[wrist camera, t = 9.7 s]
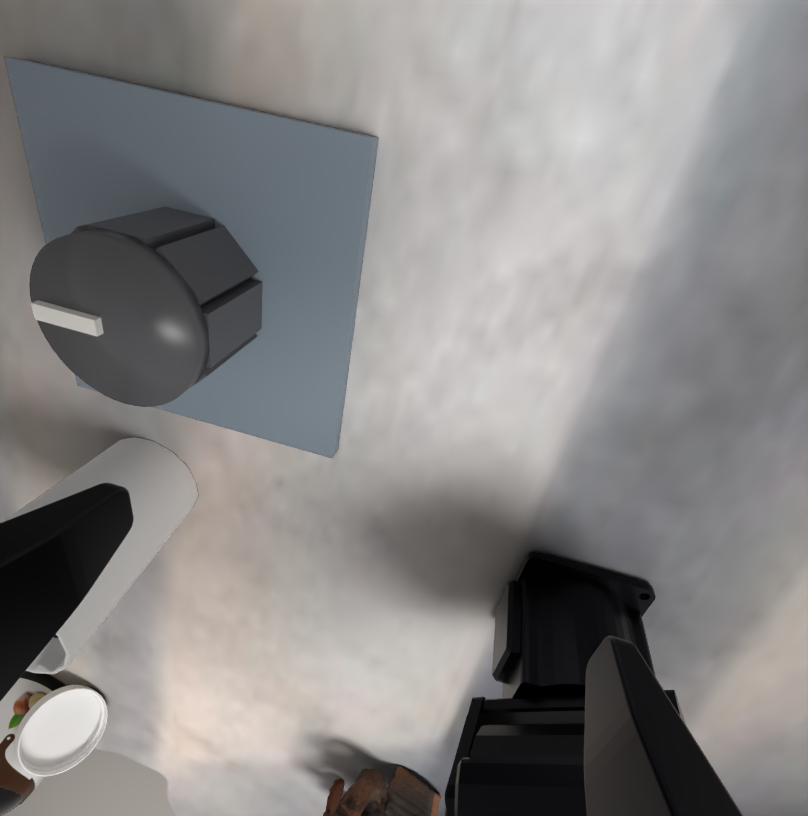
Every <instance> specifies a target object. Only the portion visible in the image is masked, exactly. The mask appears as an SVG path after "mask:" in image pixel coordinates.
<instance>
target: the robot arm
mask: <svg viewBox="0 0 808 816" xmlns="http://www.w3.org/2000/svg"><path fill="white" fill-rule="evenodd" d="M133 520H134V516H133V511H132V505H131V500H130V494H129V491H128V490H127V489H126V488H125V487H122V486H119V485H115V484H112V483H101V484H98V485H96V486H93V487H91V488H88V489H86V490H83V491H81V492H78V493H76V494H73V495H70V496H68V497H65V498H63V499H60V500H58V501H55V502H53V503H50V504H48V505H45V506H43V507H40V508H38V509H35V510H32V511H30V512H27V513H25V514H22V515H20V516H17V517H15V518H12V519H10V520H7V521H5V522H2V523H0V701H1V700H2V699H3V698H4V696H5V695H6V694H7V693H8V692H9V690H10V689H11V688H12V687H13V685H14V684H15V683H16V682H17V681H18V679H19V678H20V677H21V676H22V675H23V673H24V672H25V671H26V670H27V668H28V667H29V666H30V665H31V664H32V662H33V661H34V660H35V659H36V657H37V656H38V655H39V654H40V653H41V651H42V650H43V649H44V648H45V646H46V645H47V644H48V643H49V642H50V640H51V639H52V638H53V637H54V635H55V634H56V633H57V632H58V631H59V629H60V628H61V627H62V626H63V625H64V623H65V622H66V621H67V620H68V618H69V617H70V616H71V615H72V613H73V612H74V611H75V610H76V608H77V607H78V606H79V605H80V603H81V602H82V601H83V599H84V598H85V596H86V595H87V594H88V592H89V591H90V589H91V588H92V586H93V585H94V583H95V582H96V580H97V579H98V577H99V576H100V574H101V573H102V571H103V570H104V569H105V567H106V566H107V564H108V563H109V561H110V560H111V558H112V557H113V555H114V554H115V552H116V551H117V549H118V548H119V546H120V545H121V543H122V542H123V540H124V539H125V537H126V536H127V534H128V533H129V531H130V529H131V527H132V525H133ZM534 561H538V562H534ZM642 593H644V594H642ZM654 600H655V593H654V590H653V587H652V586H651V585H648V584H646V583H642V582H639V581H635V580H632V579H629V578H625V577H622V576H618V575H615V574H612V573H608V572H605V571H601V570H598V569H594V568H591V567H588V566H584V565H581V564H577V563H574V562H571V561H567V560H564V559H560V558H557V557H553V556H550V555H547V554H543V553H540V552H531V553H529V554H528V555H527V556H526V559H525V561H524V563H523V565H522V567H521V569H520V571H519V573H518V575H517V578H516V580H511V581H510V582H508V584H507V586H506V589H505V591H504V593H503V595H502V597H501V599H500V601H499V604H498V606H497V608H496V619H495V635H494V651H493V668H492V675H493V677H494V679H495V680H496V681H499V682H502V683H503V692H502V699H485V697H473V698H472V701H471V705H470V708H469V712H468V715H467V718H466V721H465V725H464V728H463V732H462V735H461V739H460V742H459V746H458V749H457V753H456V756H455V760H454V763H453V767H452V770H451V774H450V777H449V781H448V785H447V788H446V792H445V804H446V808H445V816H743V815H742V813H741V812H740V810H739V809H738V807H737V805H736V804H735V802H734V801H733V799H732V797H731V796H730V794H729V793H728V791H727V790H726V788H725V786H724V785H723V783H722V782H721V780H720V779H719V777H718V775H717V774H716V772H715V771H714V769H713V767H712V766H711V764H710V763H709V761H708V760H707V758H706V756H705V755H704V753H703V752H702V750H701V748H700V747H699V745H698V744H697V742H696V741H695V739H694V737H693V736H692V734H691V733H690V731H689V729H688V728H687V726H686V724H685V721H684V718H683V715H682V712H681V709H680V706H679V703H678V700H677V697H676V694H675V691H674V690H663V688H662V687H661V685H660V684H659V682H658V680H657V679H656V676H655V672H654V668H653V664H652V659H651V655H650V651H649V647H648V642H647V638H646V634H645V630H644V625H643V621H642V616H643V614H644V613H645V612H646V610H647V609H648V608H649V606H650V605H651V604H652V602H653V601H654Z"/></svg>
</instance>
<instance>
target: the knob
mask: <svg viewBox="0 0 808 816" xmlns="http://www.w3.org/2000/svg"><path fill="white" fill-rule="evenodd" d="M258 272H259V271H258V269H257V268H256V267H255V266H254V264H253V263H252V262H251V260H250V259H249V258H248V256H247V255H246V254H245V252H244V251H243V250H242V248H241V247H240V246H239V244H238V243H237V242H236V240H235V239H234V238H233V236H232V235H231V234H230V232H229V231H228V230H227V228H226V227H225V226H221V227H218V228H215V219H214V218H210V217H206V216H202V215H198V214H194V213H190V212H186V211H182V210H178V209H174V208H170V207H166V206H165V207H161V208H156V209H152V210H148V211H143V212H139V213H134V214H130V215H125V216H121V217H117V218H112V219H108V220H103V221H99V222H94V223H90V224H86V225H82V226H77V227H76V228H75V230H74V231H73V232H72V233H71V234H69V235H65V236H62V237H59V238H56V239H54V240H52V241H51V242H49V243H48V244H46V245H45V246H44V247H43V248H42V249H41V250H40V252H39V253H38V255H37V256H36V258H35V261H34V263H33V265H32V269H31V274H30V296H31V302H32V303H31V307H32V311H33V315H34V319H36V320H37V321H38V324H39V326H40V328H41V330H42V332H43V334H44V336H45V338H46V339H47V341H48V342H49V344H50V346H51V347H52V349H53V350H54V351H55V353H56V354H57V355H58V357H59V358H60V359H61V360H62V361H63V362H64V363H65V365H66V366H67V367H68V368H69V369H70V370H71V371H72V372H73V373H74V374H75V375H76V376H78V377H79V378H80V379H81V380H83V381H84V382H85V383H86V384H88V385H89V386H91V387H92V388H94V389H95V390H97V391H98V392H100V393H102V394H104V395H105V396H108V397H110V398H112V399H114V400H117V401H119V402H122V403H125V404H130V405H134V406H142V407H153V406H159V405H163V404H166V403H169V402H171V401H173V400H175V399H176V398H178V397H179V396H180V395H182V394H183V393H184V392H185V391H187V390H188V389H189V388H191V387H192V386H194V385H195V384H197V383H198V382H199V381H201V380H202V379H204V378H205V377H207V376H208V375H209V374H211V373H212V372H213V371H214V370H216V369H217V368H218V367H219V366H221V365H222V364H223V363H225V362H226V361H227V360H228V359H230V358H231V357H232V356H233V355H235V354H236V353H237V352H238V351H240V350H241V349H242V348H244V347H245V346H246V345H247V344H249V343H250V342H251V341H252V340H254V339H255V338H256V337H258V336H257V334H256V333H257V332H258V331H259V330H261V329H262V286H263V282H261V281H257V280H253V279H250V278H251V277H253V276H254V275H255V274H256V273H258Z"/></svg>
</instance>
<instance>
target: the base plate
mask: <svg viewBox="0 0 808 816" xmlns="http://www.w3.org/2000/svg"><path fill="white" fill-rule="evenodd" d="M4 59H5V63H6V68H7V72H8V77H9V81H10V86H11V90H12V95H13V99H14V104H15V108H16V113H17V117H18V122H19V126H20V130H21V135H22V139H23V144H24V148H25V153H26V157H27V162H28V166H29V171H30V175H31V180H32V184H33V189H34V193H35V198H36V202H37V206H38V211H39V215H40V220H41V224H42V229H43V233H44V238H45V242H46V244H48V243H49V242H51V241H52V240H54V239H56V238H59V237H62V236H65V235H69V234H71V233H72V232H73V231H74V230H75V228H76V227H77V226H82V225H86V224H90V223H94V222H99V221H103V220H108V219H112V218H117V217H121V216H125V215H130V214H134V213H139V212H143V211H148V210H152V209H156V208H161V207H165V206H166V207H170V208H174V209H178V210H182V211H186V212H190V213H194V214H198V215H202V216H206V217H210V218H214V219H215V228H218V227H221V226H225V227H226V228H227V230H228V231H229V232H230V234H231V235H232V236H233V238H234V239H235V240H236V242H237V243H238V244H239V246H240V247H241V248H242V250H243V251H244V252H245V254H246V255H247V256H248V258H249V259H250V260H251V262H252V263H253V264H254V266H255V267H256V268H257V269H258V271H259V272H258V273H256V274H255V275H254V276H253V277H251V278H250V279H253V280H257V281H261V282H263V286H262V329H261V330H259V331H258V332H257V333H256V334H257V336H258V337H256V338H255V339H254V340H252V341H251V342H250V343H249V344H247V345H246V346H245V347H244V348H242V349H241V350H240V351H238V352H237V353H236V354H235V355H233V356H232V357H231V358H230V359H228V360H227V361H226V362H225V363H223V364H222V365H221V366H219V367H218V368H217V369H216V370H214V371H213V372H212V373H211V374H209V375H208V376H207V377H205V378H204V379H202V380H201V381H199V382H198V383H197V384H195V385H194V386H192V387H191V388H189V389H188V390H187V391H185V392H184V393H183V394H182V395H180V396H179V397H178V398H176V399H175V400H173V401H171V402H169V403H166V404H163V405H159V406H153V407H154V408H158V409H161V410H165V411H168V412H172V413H175V414H179V415H182V416H186V417H189V418H193V419H196V420H200V421H203V422H207V423H210V424H214V425H217V426H221V427H224V428H228V429H231V430H235V431H238V432H242V433H245V434H249V435H252V436H256V437H259V438H263V439H266V440H270V441H273V442H277V443H280V444H284V445H287V446H291V447H294V448H298V449H301V450H305V451H308V452H312V453H315V454H319V455H322V456H326V457H329V458H333V457H334V456H335V454H336V452H337V450H338V447H339V439H340V431H341V424H342V416H343V408H344V401H345V393H346V385H347V377H348V370H349V362H350V354H351V347H352V339H353V331H354V323H355V316H356V308H357V300H358V293H359V285H360V277H361V269H362V262H363V254H364V246H365V239H366V231H367V223H368V216H369V208H370V200H371V192H372V185H373V177H374V169H375V162H376V154H377V146H378V137H374V136H369V135H365V134H360V133H356V132H351V131H346V130H342V129H337V128H333V127H328V126H324V125H319V124H315V123H310V122H306V121H301V120H297V119H292V118H287V117H283V116H278V115H274V114H269V113H265V112H260V111H256V110H251V109H247V108H242V107H237V106H233V105H228V104H224V103H219V102H215V101H210V100H206V99H201V98H197V97H192V96H188V95H183V94H178V93H174V92H169V91H165V90H160V89H156V88H151V87H147V86H142V85H138V84H133V83H128V82H124V81H119V80H115V79H110V78H106V77H101V76H97V75H92V74H88V73H83V72H78V71H74V70H69V69H65V68H60V67H56V66H51V65H47V64H42V63H38V62H33V61H29V60H24V59H17V58H9V57H4ZM75 376H76V375H75ZM76 381H77V385H78V386H81V387H84V388H88V389H91V390H95V389H94V388H92V387H91V386H89V385H88V384H86V383H85V382H84V381H83V380H81V379H80V378H79V377H78V376H76ZM95 391H97V390H95Z"/></svg>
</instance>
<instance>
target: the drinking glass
mask: <svg viewBox="0 0 808 816" xmlns="http://www.w3.org/2000/svg"><path fill="white" fill-rule="evenodd" d="M101 483H112V484H115V485H119V486H122V487H125V488H126V489H127V490H128V491H129V494H130V500H131V505H132V511H133V516H134V520H133V525H132V527H131V529H130V531H129V533H128V534H127V536H126V537H125V539H124V540H123V542H122V543H121V545H120V546H119V548H118V549H117V551H116V552H115V554H114V555H113V557H112V558H111V560H110V561H109V563H108V564H107V566H106V567H105V569H104V570H103V571H102V573H101V574H100V576H99V577H98V579H97V580H96V582H95V583H94V585H93V586H92V588H91V589H90V591H89V592H88V594H87V595H86V596H85V598H84V599H83V601H82V602H81V603H80V605H79V606H78V607H77V608H76V610H75V611H74V612H73V613H72V615H71V616H70V617H69V618H68V620H67V621H66V622H65V623H64V625H63V626H62V627H61V628H60V629H59V631H58V632H57V633H56V634H55V635H54V637H53V638H52V639H51V640H50V642H49V643H48V644H47V645H46V646H45V648H44V649H43V650H42V651H41V653H40V654H39V655H38V656H37V657H36V659H35V660H34V661H33V662H32V664H31V665H30V666H29V667H28V668H27V670H26V671H29V672H32V673H41V674H56V673H58V672H60V671H62V670H64V669H66V668H67V667H68V666H69V665H70V663H71V662H72V661H73V660H74V658H75V657H76V656H77V654H78V653H79V652H80V651H81V649H82V648H83V647H84V646H85V644H86V643H87V642H88V640H89V639H90V638H91V637H92V635H93V634H94V633H95V632H96V630H97V629H98V628H99V626H100V625H101V624H102V623H103V621H104V620H105V619H106V618H107V616H108V615H109V614H110V612H111V611H112V610H113V609H114V607H115V606H116V605H117V604H118V602H119V601H120V600H121V598H122V597H123V596H124V595H125V593H126V592H127V591H128V589H129V588H130V587H131V586H132V584H133V583H134V582H135V581H136V579H137V578H138V577H139V575H140V574H141V573H142V572H143V570H144V569H145V568H146V567H147V565H148V564H149V563H150V561H151V560H152V559H153V558H154V556H155V555H156V554H157V553H158V551H159V550H160V549H161V547H162V546H163V545H164V544H165V542H166V541H167V540H168V539H169V537H170V536H171V535H172V533H173V532H174V531H175V530H176V528H177V527H178V526H179V525H180V523H181V522H182V521H183V519H184V518H185V517H186V516H187V514H188V513H189V512H190V510H191V509H192V508H193V507H194V504H195V502H196V499H197V497H198V493H197V487H196V481H195V479H194V478H193V476H192V474H191V472H190V471H189V469H188V467H187V466H186V465H185V464H184V463H183V462H182V461H181V460H180V459H179V458H178V457H177V456H176V455H175V454H174V453H173V452H172V451H170V450H168V449H166V448H165V447H163V446H161V445H159V444H157V443H156V442H154V441H150V440H146V439H141V438H137V437H133V438H127V439H121V440H119V441H118V442H116V443H115V444H114V445H112V446H111V447H109V448H108V449H106V450H105V451H104V452H102V453H101V454H99V455H98V456H96V457H95V458H94V459H92V460H91V461H89V462H88V463H86V464H85V465H83V466H82V467H81V468H79V469H78V470H76V471H75V472H73V473H72V474H71V475H69V476H68V477H66V478H65V479H63V480H62V481H61V482H59V483H58V484H56V485H55V486H53V487H52V488H50V489H49V490H48V491H46V492H45V493H43V494H42V495H40V496H39V497H38V498H36V499H35V500H33V501H32V502H30V503H29V504H28V505H26V506H25V507H23V508H22V509H20V510H19V511H17V512H16V513H15V514H13V515H12V516H10V517H9V518H7V519H6V520H5V521H7V520H10V519H12V518H15V517H17V516H20V515H22V514H25V513H27V512H30V511H32V510H35V509H38V508H40V507H43V506H45V505H48V504H50V503H53V502H55V501H58V500H60V499H63V498H65V497H68V496H70V495H73V494H76V493H78V492H81V491H83V490H86V489H88V488H91V487H93V486H96V485H98V484H101ZM5 521H3V522H5Z"/></svg>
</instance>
